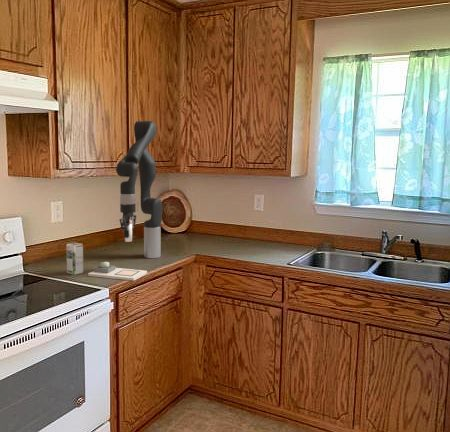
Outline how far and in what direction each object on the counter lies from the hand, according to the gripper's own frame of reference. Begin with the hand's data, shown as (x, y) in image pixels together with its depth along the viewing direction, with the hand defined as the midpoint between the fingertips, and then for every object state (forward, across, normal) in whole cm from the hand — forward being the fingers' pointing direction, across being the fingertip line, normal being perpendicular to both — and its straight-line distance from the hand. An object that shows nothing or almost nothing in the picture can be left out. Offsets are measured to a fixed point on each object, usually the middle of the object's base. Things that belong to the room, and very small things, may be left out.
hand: (128, 236), depth 235 cm
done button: (+14, +11, -7) cm, 20 cm away
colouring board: (+17, +11, 0) cm, 20 cm away
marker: (+2, 0, 0) cm, 2 cm away
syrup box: (+17, +15, -21) cm, 31 cm away
